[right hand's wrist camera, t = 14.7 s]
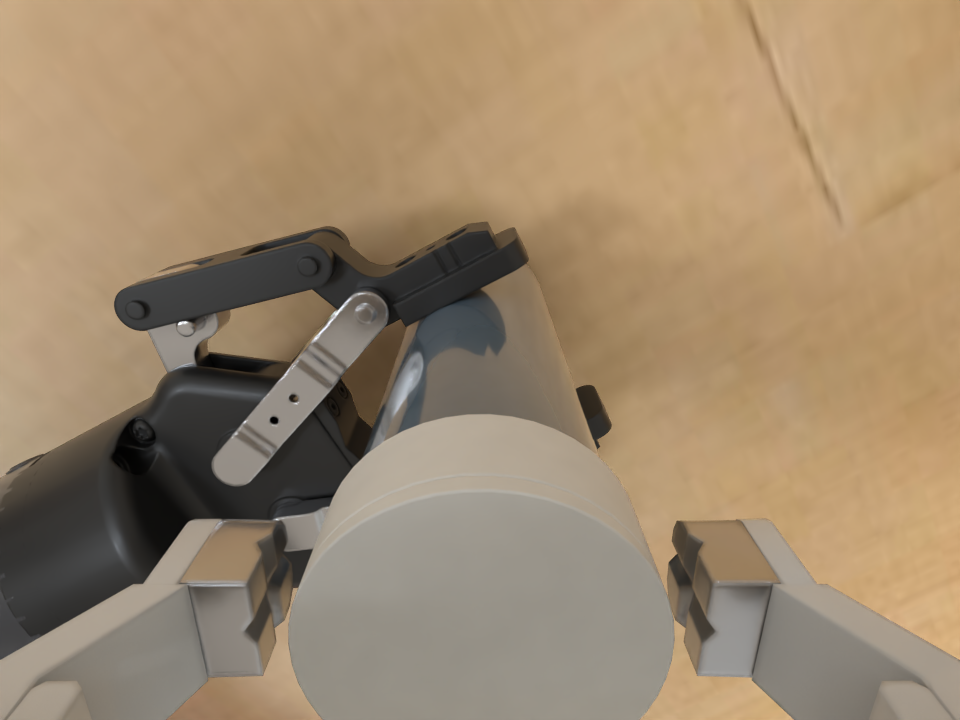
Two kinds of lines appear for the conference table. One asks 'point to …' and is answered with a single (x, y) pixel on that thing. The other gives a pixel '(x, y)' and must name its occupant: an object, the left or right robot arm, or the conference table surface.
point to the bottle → (484, 364)
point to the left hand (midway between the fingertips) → (561, 328)
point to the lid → (481, 583)
